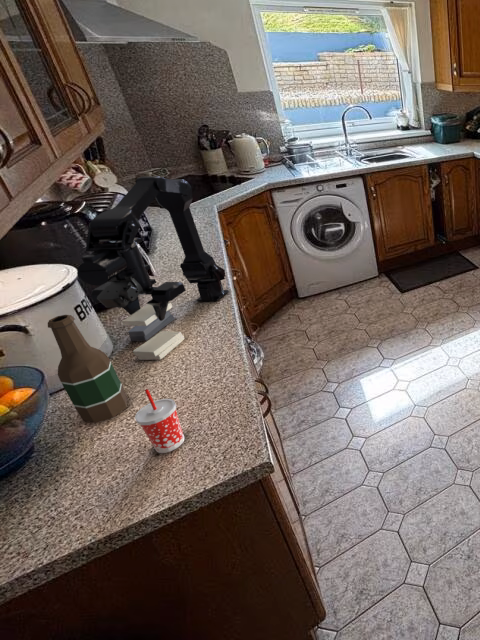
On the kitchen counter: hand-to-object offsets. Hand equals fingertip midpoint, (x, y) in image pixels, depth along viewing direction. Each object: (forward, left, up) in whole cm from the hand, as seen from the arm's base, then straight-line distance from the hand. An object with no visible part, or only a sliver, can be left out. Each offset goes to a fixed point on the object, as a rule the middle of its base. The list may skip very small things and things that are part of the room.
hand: (150, 319), depth 106 cm
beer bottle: (+22, +4, -9) cm, 24 cm away
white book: (0, 0, +1) cm, 1 cm away
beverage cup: (+31, +24, -9) cm, 41 cm away
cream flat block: (0, 0, -9) cm, 9 cm away
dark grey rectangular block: (-9, -9, -9) cm, 15 cm away
